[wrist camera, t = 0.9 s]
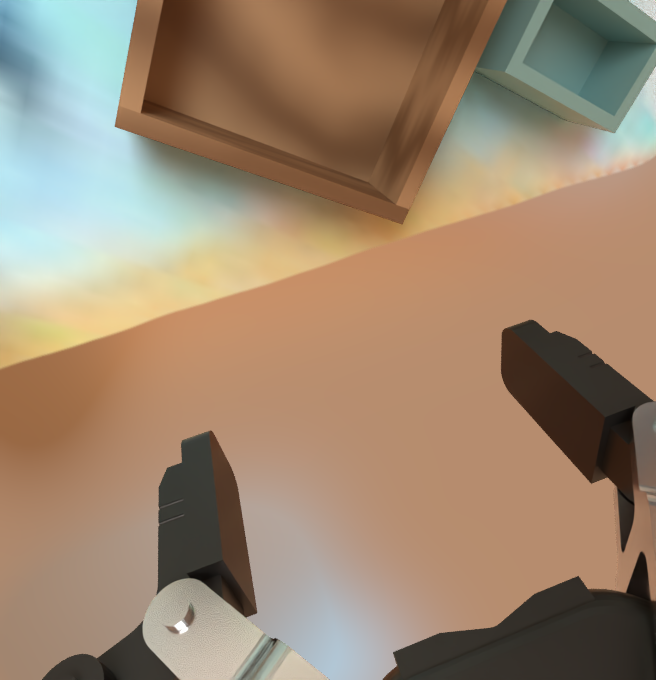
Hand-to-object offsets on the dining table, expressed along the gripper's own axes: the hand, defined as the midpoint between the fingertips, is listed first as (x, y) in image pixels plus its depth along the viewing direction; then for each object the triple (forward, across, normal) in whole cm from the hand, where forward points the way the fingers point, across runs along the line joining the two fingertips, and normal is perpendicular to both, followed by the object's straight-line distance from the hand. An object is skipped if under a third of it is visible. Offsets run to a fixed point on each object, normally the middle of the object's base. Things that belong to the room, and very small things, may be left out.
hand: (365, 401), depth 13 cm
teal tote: (+24, -22, -2) cm, 33 cm away
